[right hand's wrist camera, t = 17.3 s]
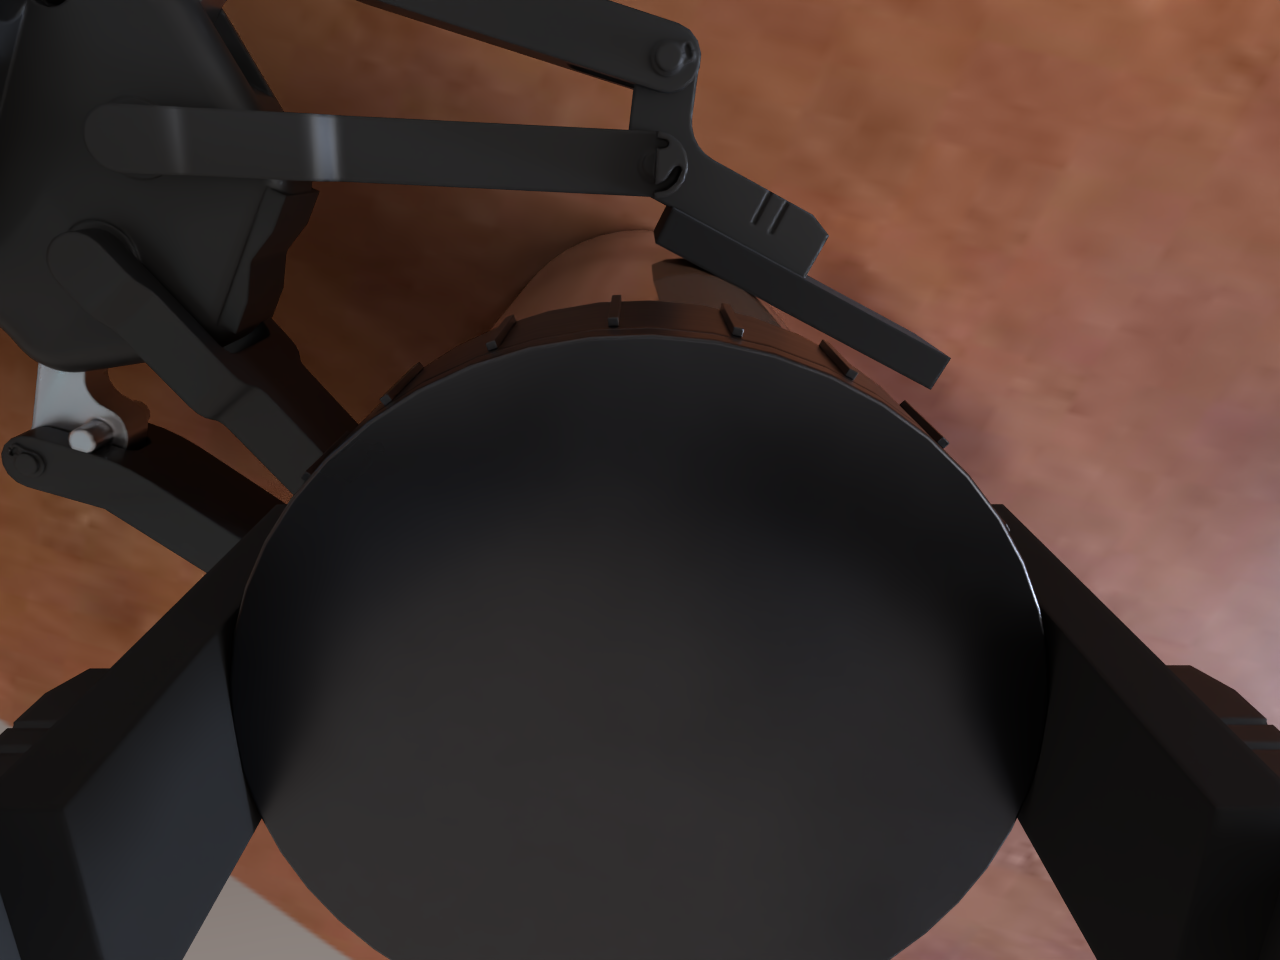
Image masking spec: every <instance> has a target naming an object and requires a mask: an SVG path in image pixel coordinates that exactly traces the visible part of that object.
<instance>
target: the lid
mask: <svg viewBox="0 0 1280 960" xmlns="http://www.w3.org/2000/svg"><path fill="white" fill-rule="evenodd" d="M380 401H381V402H382V403H380V404H379V405H378V406H377V407H376V408H375V409H374V410H373V411H372V412H371V413H370V414H369V415H368V416H367V417H366V418H365V419H364V420H363V421H362V422H361V423H360V424H359V425H358V426H357V427H356V428H355V429H354V430H353V431H352V432H351V433H350V432H349V431H346V432H345V433H344V434H343V435H342V436H341V437H340V438H339V439H338V440H337V441H336V442H335V443H334V444H333V445H332V446H331V447H330V448H329V449H328V450H327V451H326V452H325V453H324V454H323V455H321V456H320V457H319V458H318V459H317V460H316V461H315V462H314V463H313V464H312V465H311V466H310V467H309V468H308V469H307V470H306V471H305V472H304V474H303V475H302V476H301V479H302V480H304V481H305V483H304V484H303V485H302V486H301V487H300V488H299V490H298V491H297V492H296V493H295V494H294V495H293V497H292V498H291V499H290V501H289V503H288V504H287V506H286V507H285V509H284V511H283V512H282V514H281V516H280V517H279V519H278V520H277V522H276V524H275V525H274V527H273V528H272V530H271V532H270V533H269V535H268V537H267V538H266V540H265V541H264V544H263V546H262V548H261V551H260V553H259V556H258V558H257V560H256V563H255V565H254V567H253V570H252V572H251V574H250V577H249V579H248V582H247V584H246V586H245V590H244V594H243V598H242V602H241V606H240V610H239V614H238V618H237V622H236V626H235V630H234V636H233V648H232V659H231V671H230V693H231V707H232V717H233V723H234V729H235V734H236V739H237V745H238V750H239V755H240V760H241V765H242V769H243V773H244V775H245V778H246V781H247V783H248V786H249V788H250V791H251V794H252V796H253V799H254V801H255V804H256V806H257V809H258V812H259V814H260V816H261V818H262V819H263V821H264V823H265V825H266V827H267V828H268V830H269V832H270V834H271V835H272V837H273V839H274V841H275V843H276V844H277V846H278V848H279V850H280V852H281V853H282V854H283V856H284V857H285V858H286V860H287V861H288V862H289V864H290V865H291V867H292V868H293V869H294V871H295V872H296V873H297V875H298V876H299V877H300V879H301V880H302V881H303V883H304V884H305V885H306V887H307V888H308V889H309V890H310V891H311V892H312V893H313V894H314V895H315V896H316V897H317V898H318V899H319V900H320V901H321V903H322V904H323V905H324V906H325V907H326V908H327V909H328V910H329V911H330V912H331V913H332V914H333V915H334V916H335V917H336V918H337V919H338V920H339V921H340V922H341V923H343V924H344V925H345V926H346V927H347V928H349V929H350V930H351V931H352V932H354V933H355V934H356V935H357V936H358V937H360V938H361V939H362V940H363V941H365V942H366V943H367V944H368V945H369V946H371V947H372V948H373V949H375V950H376V951H378V952H379V953H381V954H382V955H384V956H385V957H387V958H389V959H390V960H890V959H891V958H893V957H894V956H896V955H897V954H898V953H900V952H901V951H902V950H904V949H905V948H906V947H908V946H909V945H910V944H912V943H913V942H914V941H916V940H917V939H919V938H920V937H921V936H923V935H924V934H925V933H926V932H928V931H929V930H930V929H931V928H932V927H933V926H934V925H935V924H936V923H937V922H938V921H939V920H940V919H941V918H943V917H944V916H945V915H946V914H947V913H948V912H949V911H950V910H951V909H952V908H953V907H954V906H955V905H956V904H957V903H959V901H960V900H961V899H962V898H963V897H964V895H965V894H966V893H967V892H968V891H969V889H970V888H971V887H972V886H973V885H974V883H975V882H976V881H977V880H978V879H979V877H980V876H981V875H982V874H983V873H984V871H985V870H986V869H987V868H988V866H989V865H990V863H991V861H992V860H993V858H994V857H995V855H996V854H997V852H998V850H999V849H1000V847H1001V846H1002V844H1003V843H1004V841H1005V839H1006V838H1007V836H1008V835H1009V833H1010V832H1011V830H1012V828H1013V825H1014V823H1015V821H1016V819H1017V817H1018V814H1019V812H1020V810H1021V808H1022V806H1023V804H1024V801H1025V799H1026V797H1027V795H1028V793H1029V791H1030V787H1031V784H1032V781H1033V777H1034V774H1035V770H1036V767H1037V764H1038V760H1039V757H1040V752H1041V747H1042V742H1043V736H1044V730H1045V724H1046V718H1047V710H1048V703H1049V692H1048V652H1047V646H1046V641H1045V635H1044V629H1043V623H1042V618H1041V612H1040V607H1039V604H1038V601H1037V598H1036V595H1035V592H1034V589H1033V586H1032V584H1031V581H1030V578H1029V575H1028V572H1027V569H1026V566H1025V563H1024V561H1023V559H1022V557H1021V555H1020V553H1019V551H1018V549H1017V547H1016V546H1015V544H1014V542H1013V540H1012V538H1011V536H1010V534H1009V531H1010V529H1009V527H1008V525H1007V524H1006V523H1005V522H1004V520H1003V519H1002V518H1001V517H1000V516H999V514H998V513H997V512H996V510H995V509H994V508H993V506H992V505H991V504H990V502H989V501H988V500H987V498H986V497H985V496H984V494H983V493H982V492H981V490H980V489H979V488H978V486H977V485H976V484H975V482H974V481H973V480H972V478H971V477H970V476H969V474H968V473H967V472H966V471H965V470H964V469H963V468H962V467H961V466H960V465H959V464H958V463H957V462H956V461H955V460H954V459H953V458H952V457H951V456H950V455H949V454H948V453H947V452H946V451H945V450H944V448H945V447H946V446H947V445H948V444H949V442H948V441H947V440H946V439H945V438H944V437H943V436H942V435H941V434H940V433H939V432H938V431H937V430H936V429H935V428H934V427H933V426H932V425H931V424H930V423H928V422H927V421H926V420H925V419H924V418H923V417H922V416H921V415H920V414H919V413H918V412H917V411H916V410H915V409H914V408H913V407H912V406H911V405H910V404H909V403H908V402H907V401H906V400H904V401H903V402H902V403H901V404H900V405H899V404H898V403H897V402H895V401H894V400H893V399H892V398H891V397H890V396H889V395H888V394H887V393H886V392H885V391H884V390H883V389H882V388H881V387H880V386H879V385H878V384H876V383H875V382H874V381H872V380H871V379H870V378H868V377H867V376H866V375H864V374H863V373H861V372H860V371H859V370H857V369H856V368H855V367H853V366H852V365H851V364H849V363H848V362H847V361H846V360H845V359H844V358H843V357H842V356H841V354H840V353H839V352H838V351H837V350H836V349H835V348H834V347H833V346H832V345H831V344H830V343H828V342H827V341H825V340H822V341H821V343H820V344H819V345H817V344H815V343H813V342H812V341H810V340H808V339H806V338H804V337H802V336H800V335H799V334H796V333H793V332H791V331H788V330H785V329H783V328H780V327H777V326H775V325H772V324H770V323H767V322H764V321H762V320H759V319H756V318H754V317H751V316H746V315H742V314H738V313H735V312H734V311H733V309H732V307H731V305H729V304H725V303H722V304H721V307H720V309H716V308H712V307H707V306H703V305H694V304H684V303H673V302H663V301H652V300H648V301H622V299H621V295H612V299H611V302H598V303H592V304H586V305H581V306H575V307H569V308H563V309H557V310H551V311H547V312H544V313H541V314H537V315H534V316H531V317H528V318H524V319H521V320H518V321H516V319H515V316H514V315H511V316H508V317H506V318H505V319H504V320H503V322H502V323H501V324H500V325H499V327H497V328H495V329H493V330H491V331H489V332H487V333H484V334H482V335H480V336H478V337H476V338H474V339H472V340H470V341H467V342H465V343H463V344H461V345H459V346H457V347H455V348H453V349H452V350H450V351H449V352H447V353H446V354H444V355H443V356H441V357H439V358H438V359H436V360H435V361H433V362H432V363H430V364H429V365H427V366H426V367H423V366H422V364H421V363H420V362H419V363H417V364H416V365H415V366H413V367H412V368H411V369H410V370H409V371H408V372H407V373H406V374H405V375H404V376H403V377H402V378H401V379H400V380H399V381H398V382H397V383H396V384H395V385H394V386H393V387H392V388H390V389H389V390H388V391H387V392H386V393H385V394H384V395H383V396H382V397H381V398H380Z"/></svg>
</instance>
